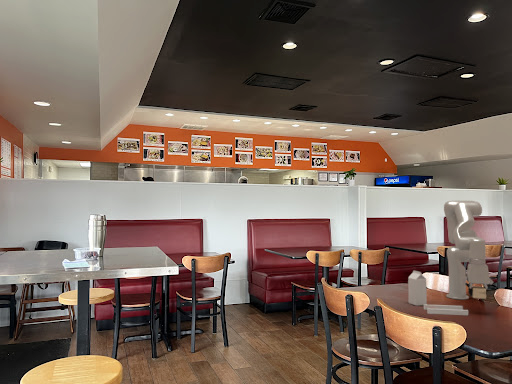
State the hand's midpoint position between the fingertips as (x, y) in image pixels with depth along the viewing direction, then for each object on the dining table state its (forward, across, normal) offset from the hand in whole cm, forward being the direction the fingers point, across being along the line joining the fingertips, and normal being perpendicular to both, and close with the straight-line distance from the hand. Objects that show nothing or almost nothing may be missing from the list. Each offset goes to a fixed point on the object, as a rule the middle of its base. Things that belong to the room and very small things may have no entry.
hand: (477, 295), depth 220 cm
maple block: (+1, 0, 0) cm, 1 cm away
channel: (+9, -16, -1) cm, 19 cm away
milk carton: (+10, -28, +15) cm, 33 cm away
